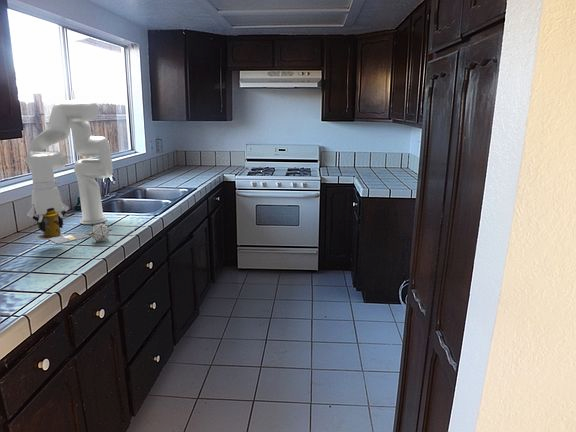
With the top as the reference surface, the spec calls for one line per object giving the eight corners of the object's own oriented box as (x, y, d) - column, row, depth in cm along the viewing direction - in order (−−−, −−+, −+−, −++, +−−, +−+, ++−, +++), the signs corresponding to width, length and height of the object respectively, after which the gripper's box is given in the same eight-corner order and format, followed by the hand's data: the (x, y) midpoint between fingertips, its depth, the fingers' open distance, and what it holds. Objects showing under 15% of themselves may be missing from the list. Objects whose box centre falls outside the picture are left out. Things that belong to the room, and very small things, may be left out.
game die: (105, 250, 182) (107, 235, 175) (84, 244, 180) (86, 229, 173) (112, 235, 188) (115, 220, 182) (92, 229, 186) (94, 214, 180)
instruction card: (48, 239, 184) (48, 238, 184) (81, 232, 195) (81, 232, 194) (57, 244, 178) (57, 243, 178) (90, 237, 188) (90, 236, 188)
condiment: (65, 234, 174) (61, 206, 171) (45, 240, 167) (41, 210, 164) (54, 232, 177) (50, 204, 174) (34, 237, 170) (29, 208, 167)
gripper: (63, 181, 176) (69, 222, 181) (16, 187, 163) (24, 232, 168) (71, 183, 171) (77, 226, 176) (23, 190, 159) (31, 236, 163)
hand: (51, 228), depth 172 cm, fingers closed on condiment, 6 cm apart
